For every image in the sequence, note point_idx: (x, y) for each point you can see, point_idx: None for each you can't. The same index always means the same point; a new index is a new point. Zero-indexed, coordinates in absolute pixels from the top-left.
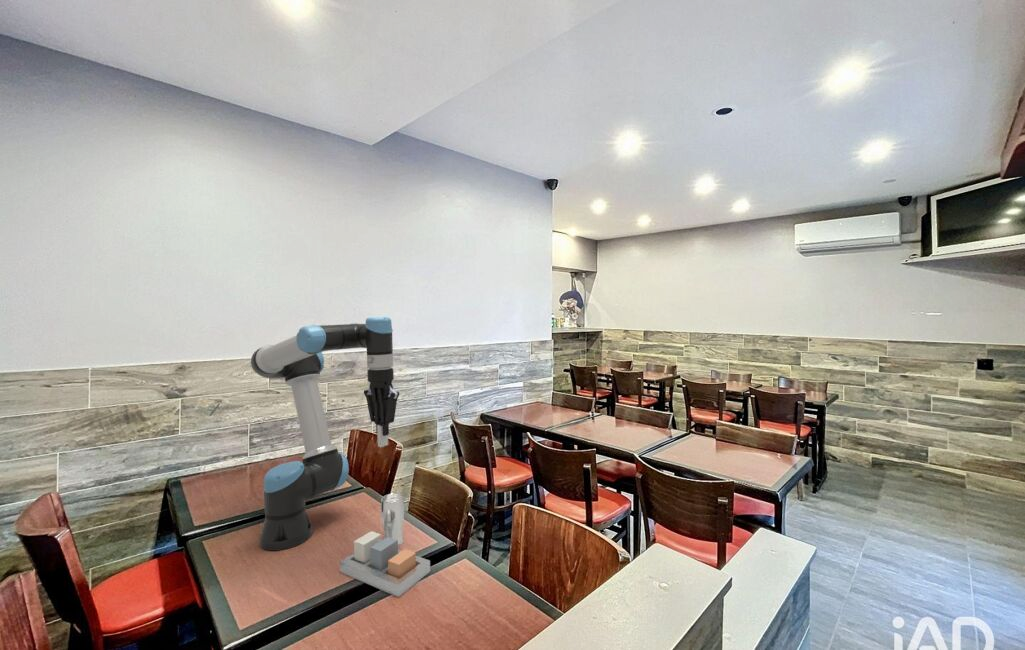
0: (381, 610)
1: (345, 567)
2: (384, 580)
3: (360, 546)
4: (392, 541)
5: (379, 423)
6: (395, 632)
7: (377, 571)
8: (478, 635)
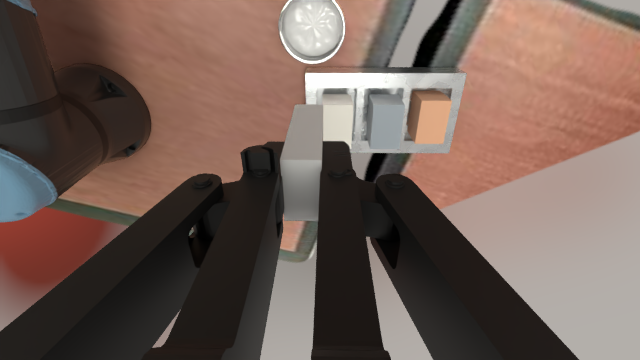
0: (428, 166)
1: None
2: (417, 152)
3: None
4: (397, 114)
5: (283, 207)
6: (472, 184)
7: None
8: (589, 142)
